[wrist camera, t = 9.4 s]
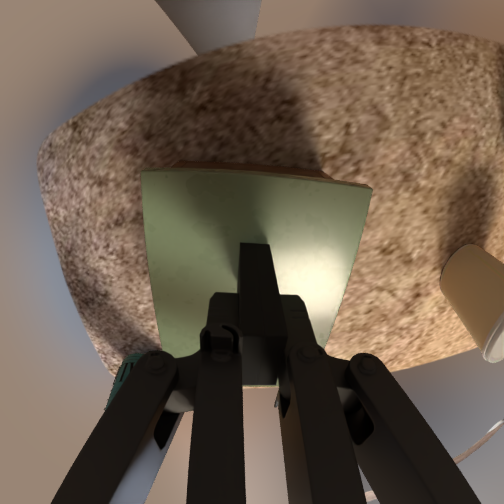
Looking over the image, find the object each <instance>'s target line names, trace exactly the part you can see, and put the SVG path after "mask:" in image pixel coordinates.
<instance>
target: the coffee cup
mask: <svg viewBox="0 0 504 504" xmlns="http://www.w3.org/2000/svg"><path fill="white" fill-rule="evenodd" d="M440 288H441V291H442V293H443V294H444V296H445V297H446V299H447V300H448V302H449V303H450V305H451V306H452V308H453V309H454V311H455V312H456V313H457V315H458V316H459V318H460V319H461V321H462V322H463V324H464V325H465V327H466V329H467V330H468V332H469V333H470V335H471V336H472V338H473V340H474V341H475V343H476V344H477V346H478V347H479V349H480V350H481V352H482V356H483V358H484V359H485V360H487V361H489V362H491V363H495V362H498V361H500V360H502V359H503V358H504V264H503V263H502V262H501V261H499V260H498V259H496V258H495V257H494V256H492V255H491V254H489V253H488V252H486V251H485V250H483V249H481V248H480V247H478V246H476V245H474V244H467V245H465V246H462V247H461V248H459V249H458V250H457V251H456V252H455V253H454V254H453V255H452V256H451V257H450V259H449V260H448V262H447V263H446V265H445V267H444V269H443V272H442V275H441V279H440Z"/></svg>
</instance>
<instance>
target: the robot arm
mask: <svg viewBox="0 0 504 504" xmlns="http://www.w3.org/2000/svg"><path fill="white" fill-rule="evenodd" d="M199 336H200V349H199V350H198V351H197V352H196V353H194V354H192V355H189V356H185V357H179V358H174V357H173V356H172V354H170V353H168V352H166V351H160V350H155V351H149V352H147V353H145V354H143V355H142V356H141V357H140V358H139V359H138V361H137V362H136V364H135V365H134V367H133V368H132V370H131V371H130V373H129V374H128V376H127V378H126V379H125V381H124V382H123V384H122V385H121V387H120V388H119V390H118V391H117V393H116V395H115V396H114V398H113V399H112V401H111V402H110V404H109V406H108V407H107V409H106V410H105V412H104V414H103V415H102V417H101V418H100V420H99V422H98V423H97V425H96V427H95V428H94V430H93V432H92V433H91V435H90V436H89V438H88V440H87V441H86V443H85V445H84V446H83V448H82V450H81V451H80V453H79V455H78V456H77V458H76V460H75V461H74V463H73V465H72V467H71V468H70V470H69V472H68V474H67V475H66V477H65V479H64V481H63V483H62V484H61V486H60V488H59V489H58V491H57V493H56V495H55V497H54V499H53V500H52V502H51V504H144V503H145V500H146V498H147V496H148V494H149V491H150V489H151V487H152V485H153V482H154V480H155V478H156V476H157V473H158V471H159V469H160V466H161V464H162V462H163V460H164V457H165V455H166V453H167V451H168V449H169V446H170V444H171V442H172V439H173V437H174V435H175V433H176V430H177V428H178V426H179V423H180V421H181V419H182V417H183V414H184V412H188V411H193V410H194V413H193V423H192V434H191V445H190V457H189V469H188V484H187V499H186V504H246V489H245V461H244V430H243V392H242V385H276V383H277V380H278V383H279V390H278V394H277V397H276V401H275V405H274V407H277V406H278V409H279V418H280V427H281V436H282V445H283V453H284V463H285V472H286V481H287V490H288V501H289V504H367V502H366V498H365V493H364V489H363V485H362V481H361V476H360V472H359V468H358V465H359V466H360V468H361V470H362V472H363V474H364V476H365V477H366V479H367V481H368V483H369V485H370V486H371V488H372V490H373V492H374V493H375V495H376V497H377V499H378V501H379V502H380V504H481V502H480V501H479V499H478V498H477V496H476V495H475V493H474V491H473V490H472V488H471V487H470V485H469V484H468V482H467V480H466V479H465V477H464V476H463V474H462V473H461V471H460V470H459V468H458V467H457V466H456V464H455V462H454V461H453V459H452V458H451V456H450V455H449V453H448V452H447V450H446V449H445V448H444V446H443V445H442V443H441V442H440V440H439V439H438V438H437V436H436V435H435V433H434V432H433V430H432V429H431V428H430V426H429V425H428V424H427V422H426V421H425V419H424V418H423V416H422V415H421V414H420V412H419V411H418V409H417V408H416V407H415V405H414V404H413V403H412V401H411V400H410V399H409V397H408V396H407V394H406V393H405V392H404V390H403V389H402V388H401V386H400V385H399V384H398V382H397V381H396V380H395V378H394V377H393V376H392V375H391V373H390V372H389V370H388V369H387V368H386V366H385V365H384V364H383V363H382V361H381V360H380V359H379V358H377V357H376V356H374V355H372V354H368V353H358V354H356V355H354V356H353V357H352V358H351V360H350V361H348V360H343V359H338V358H335V357H331V356H329V355H327V353H326V352H325V350H324V349H323V348H322V347H321V346H320V345H318V344H317V341H316V338H315V334H314V331H313V328H312V324H311V321H310V319H309V315H308V312H307V308H306V305H305V302H304V301H303V300H302V299H301V298H300V296H299V295H293V294H280V292H279V287H278V282H277V278H276V273H275V268H274V263H273V258H272V254H271V249H270V244H259V243H242V242H240V251H239V265H238V280H237V293H227V292H215V293H214V294H213V296H212V297H211V298H210V300H209V307H208V315H207V322H206V326H205V327H204V328H203V329H202V330H201V332H200V335H199ZM357 463H358V464H357Z"/></svg>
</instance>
